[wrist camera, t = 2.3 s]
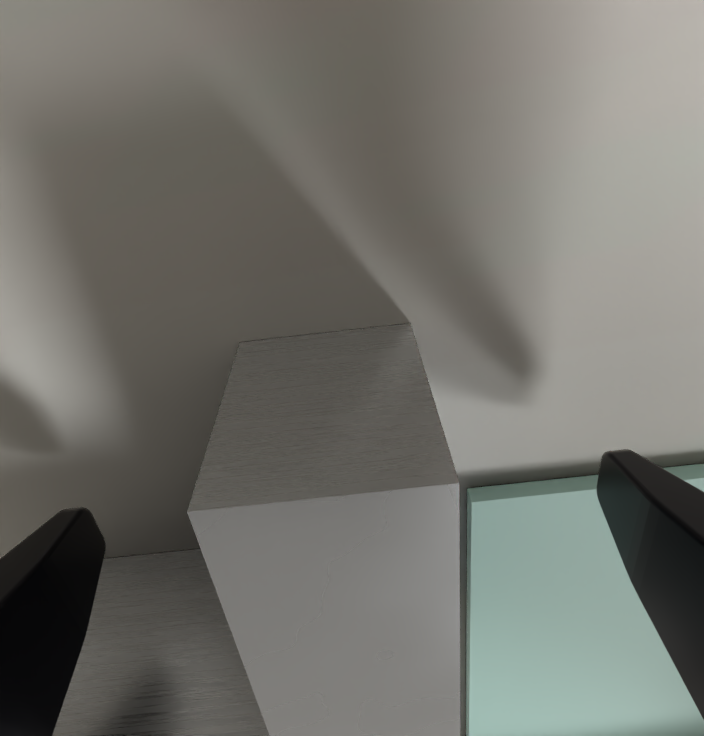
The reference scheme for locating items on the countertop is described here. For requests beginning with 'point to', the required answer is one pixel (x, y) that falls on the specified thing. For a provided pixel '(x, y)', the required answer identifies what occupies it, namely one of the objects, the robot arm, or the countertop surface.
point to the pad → (562, 621)
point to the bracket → (295, 563)
